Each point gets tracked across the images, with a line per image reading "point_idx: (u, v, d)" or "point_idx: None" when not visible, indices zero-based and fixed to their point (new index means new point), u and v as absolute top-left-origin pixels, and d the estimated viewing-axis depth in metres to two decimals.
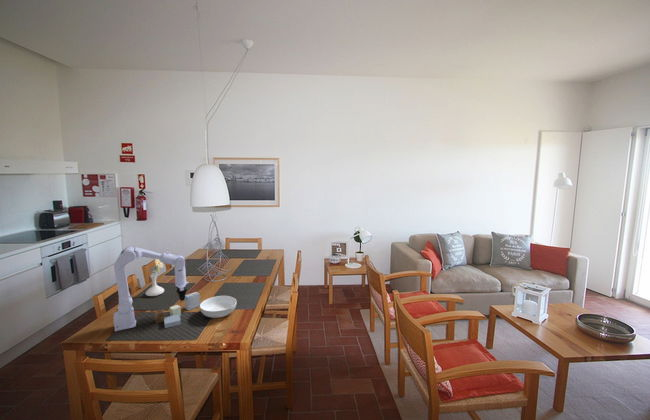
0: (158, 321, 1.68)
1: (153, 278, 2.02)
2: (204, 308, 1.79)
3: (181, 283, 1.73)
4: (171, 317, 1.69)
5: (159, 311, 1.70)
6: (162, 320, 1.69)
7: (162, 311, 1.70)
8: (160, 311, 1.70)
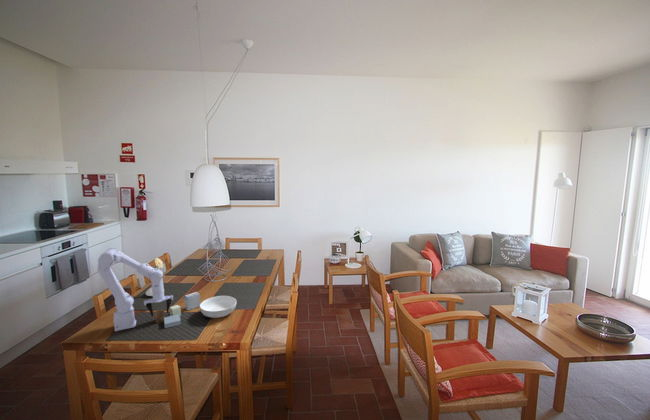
0: (158, 321, 1.68)
1: None
2: (204, 308, 1.79)
3: (152, 298, 1.67)
4: (171, 317, 1.69)
5: (159, 311, 1.70)
6: (162, 320, 1.69)
7: (162, 311, 1.70)
8: (160, 311, 1.70)
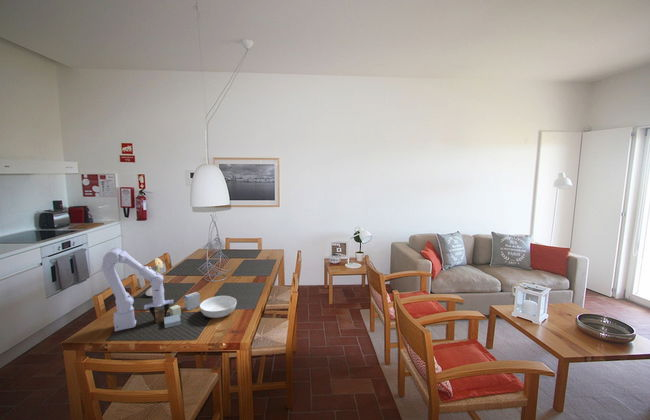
0: (158, 321, 1.68)
1: None
2: (204, 308, 1.79)
3: (153, 302, 1.67)
4: (171, 317, 1.69)
5: (159, 311, 1.70)
6: (162, 320, 1.69)
7: (162, 311, 1.70)
8: (160, 311, 1.70)
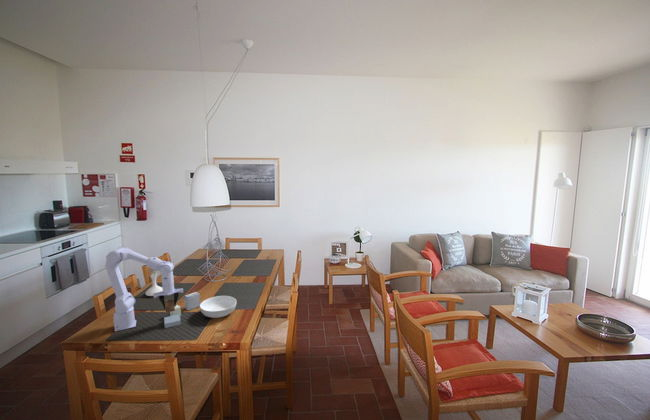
0: (168, 310, 1.65)
1: (153, 278, 2.02)
2: (204, 308, 1.79)
3: (162, 291, 1.64)
4: (171, 317, 1.69)
5: (169, 300, 1.67)
6: (172, 309, 1.66)
7: (172, 300, 1.67)
8: (170, 300, 1.67)
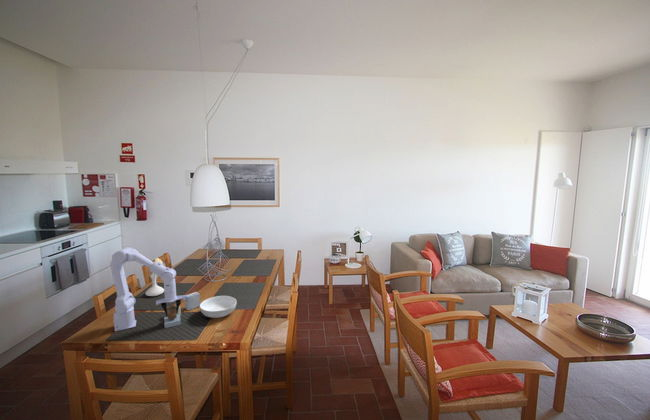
0: (170, 317, 1.65)
1: (153, 278, 2.02)
2: (204, 308, 1.79)
3: (165, 298, 1.64)
4: None
5: (171, 307, 1.67)
6: (174, 316, 1.66)
7: (174, 307, 1.67)
8: (172, 307, 1.67)
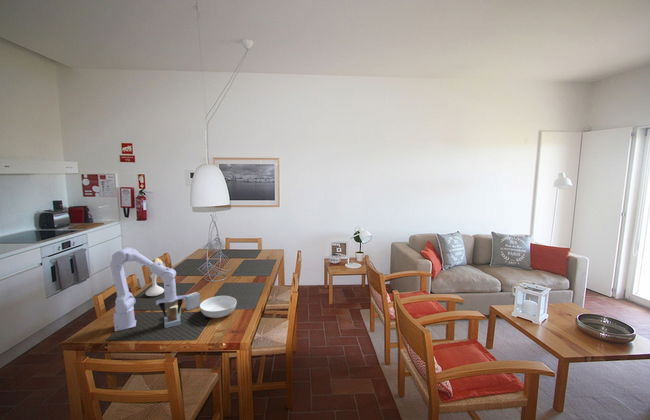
0: (170, 319, 1.65)
1: (153, 278, 2.02)
2: (204, 308, 1.79)
3: (165, 298, 1.64)
4: None
5: (171, 309, 1.67)
6: (174, 318, 1.66)
7: (174, 309, 1.67)
8: (172, 309, 1.67)
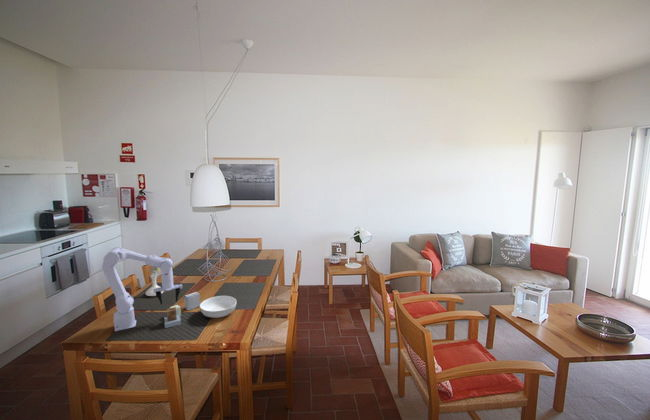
0: (170, 319, 1.65)
1: (153, 278, 2.02)
2: (204, 308, 1.79)
3: (162, 286, 1.68)
4: None
5: (171, 309, 1.67)
6: (174, 318, 1.66)
7: (174, 309, 1.67)
8: (172, 309, 1.67)
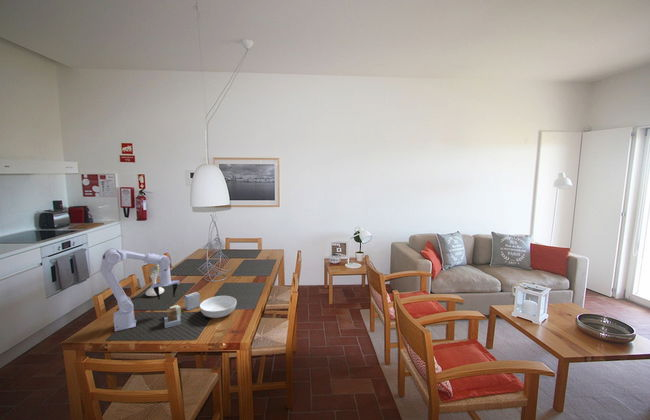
0: (170, 319, 1.65)
1: (153, 278, 2.02)
2: (204, 308, 1.79)
3: None
4: None
5: (171, 309, 1.67)
6: (174, 318, 1.66)
7: (174, 309, 1.67)
8: (172, 309, 1.67)
